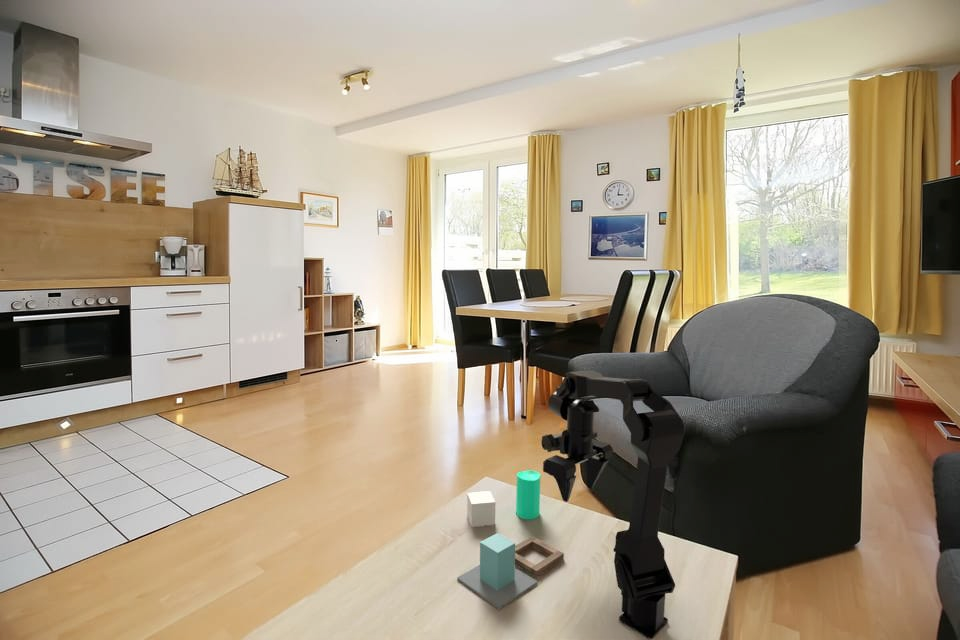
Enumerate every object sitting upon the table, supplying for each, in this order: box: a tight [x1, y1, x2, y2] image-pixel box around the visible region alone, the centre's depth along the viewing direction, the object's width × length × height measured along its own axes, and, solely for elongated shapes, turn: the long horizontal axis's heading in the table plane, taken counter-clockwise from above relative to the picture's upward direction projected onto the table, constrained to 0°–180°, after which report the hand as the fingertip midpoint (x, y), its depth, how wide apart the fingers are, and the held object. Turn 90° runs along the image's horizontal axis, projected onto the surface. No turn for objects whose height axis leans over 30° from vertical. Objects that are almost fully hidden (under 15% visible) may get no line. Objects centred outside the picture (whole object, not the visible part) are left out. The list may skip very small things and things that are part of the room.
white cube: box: [466, 490, 496, 528], centre depth 126 cm, size 6×6×6 cm
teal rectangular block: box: [479, 532, 516, 591], centre depth 101 cm, size 5×5×8 cm
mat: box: [457, 564, 538, 610], centre depth 102 cm, size 12×11×1 cm
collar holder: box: [515, 535, 565, 578], centre depth 110 cm, size 9×9×2 cm
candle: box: [515, 469, 541, 520], centre depth 129 cm, size 6×6×12 cm
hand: (577, 494), depth 112 cm, fingers open, 9 cm apart
